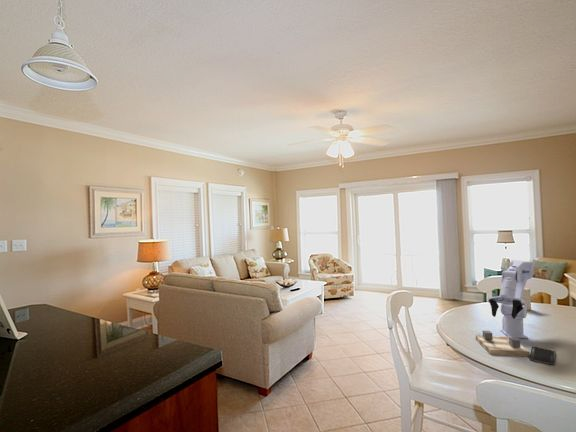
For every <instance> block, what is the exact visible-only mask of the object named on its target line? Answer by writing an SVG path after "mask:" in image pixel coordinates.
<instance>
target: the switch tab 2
mask: <svg viewBox="0 0 576 432" xmlns="http://www.w3.org/2000/svg"><path fill="white" fill-rule="evenodd" d="M509 344H510V345H511V346H512V347H520V344H521V340H520V338H512V337H509Z"/></svg>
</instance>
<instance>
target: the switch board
mask: <svg viewBox="0 0 576 432" xmlns="http://www.w3.org/2000/svg"><path fill="white" fill-rule="evenodd" d="M492 337H493V340H486V339H484V338H483V334H482V335H481V334H480V335H479V334H476V335H475V341H477V342H478V344H480V346H481V347H483V348H484V350H486V351H487V353H488V354H490V355H499V356H516V357H517V356H519V357H529V356H530V352H531V351H529V350H528V349H527V348H525V347H524V346H523V345H522V344H521V343H520V347H512V346H511V345H510V344H509V337H508V336H503V335H502V336H501V335H498V336H497V335H492Z"/></svg>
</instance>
